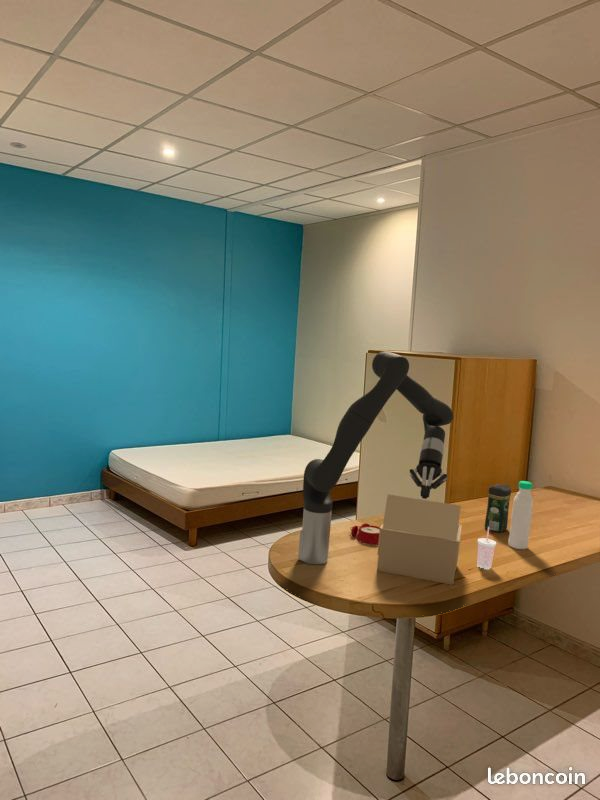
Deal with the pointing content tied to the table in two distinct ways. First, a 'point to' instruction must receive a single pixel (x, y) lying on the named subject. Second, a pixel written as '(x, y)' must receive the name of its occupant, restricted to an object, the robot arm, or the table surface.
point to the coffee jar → (498, 507)
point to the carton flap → (422, 517)
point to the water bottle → (521, 517)
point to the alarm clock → (366, 533)
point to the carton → (418, 555)
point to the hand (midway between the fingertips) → (424, 497)
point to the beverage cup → (485, 552)
